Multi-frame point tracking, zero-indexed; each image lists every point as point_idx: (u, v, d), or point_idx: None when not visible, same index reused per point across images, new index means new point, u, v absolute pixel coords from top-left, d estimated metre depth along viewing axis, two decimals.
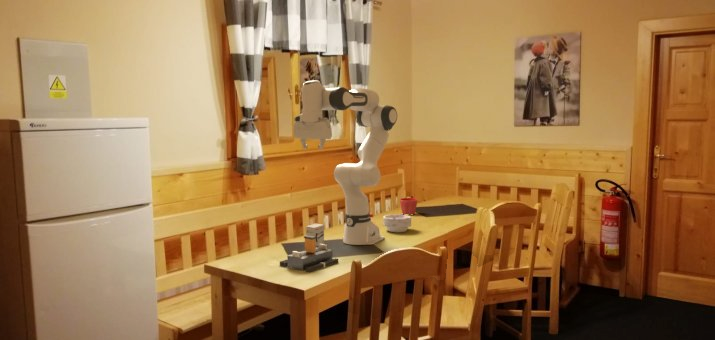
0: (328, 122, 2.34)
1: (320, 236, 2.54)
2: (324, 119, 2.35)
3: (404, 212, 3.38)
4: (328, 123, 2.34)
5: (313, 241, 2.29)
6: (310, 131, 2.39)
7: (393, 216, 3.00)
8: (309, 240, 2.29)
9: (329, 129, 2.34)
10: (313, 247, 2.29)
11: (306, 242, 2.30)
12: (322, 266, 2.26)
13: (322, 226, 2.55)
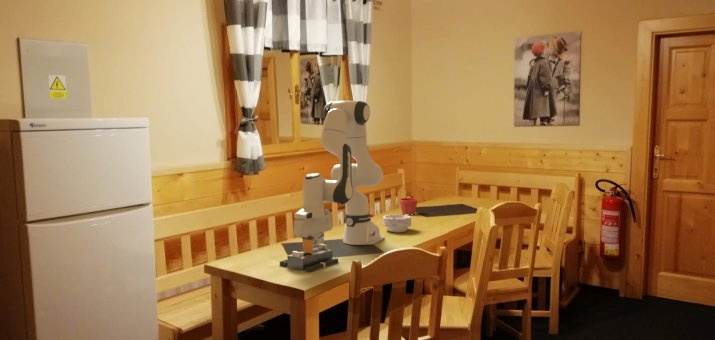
0: (329, 213, 2.38)
1: (320, 236, 2.54)
2: (326, 211, 2.36)
3: (404, 212, 3.38)
4: (329, 214, 2.38)
5: (311, 242, 2.28)
6: (317, 226, 2.30)
7: (393, 216, 3.00)
8: (307, 241, 2.28)
9: None
10: (311, 248, 2.28)
11: (304, 243, 2.29)
12: (322, 266, 2.26)
13: None
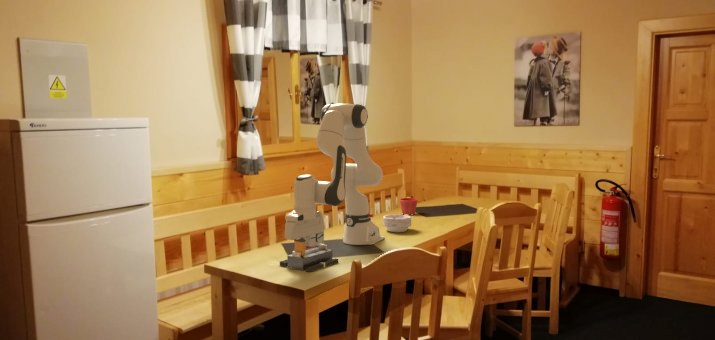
0: (321, 215, 2.34)
1: (320, 236, 2.54)
2: (318, 213, 2.32)
3: (404, 212, 3.38)
4: (321, 216, 2.34)
5: (303, 244, 2.24)
6: (309, 228, 2.27)
7: (393, 216, 3.00)
8: (299, 243, 2.24)
9: None
10: (303, 250, 2.24)
11: (296, 245, 2.26)
12: (322, 266, 2.26)
13: None
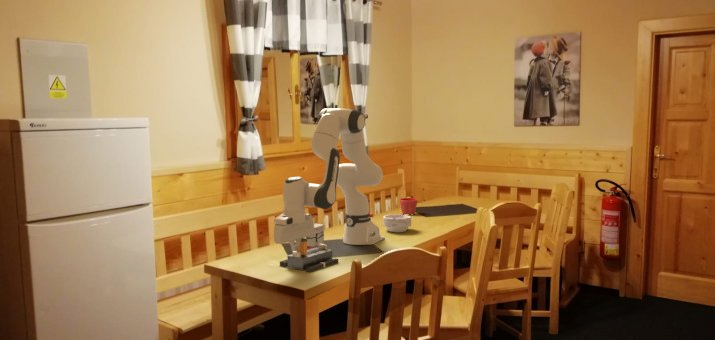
0: (311, 218, 2.30)
1: (320, 236, 2.54)
2: (308, 215, 2.28)
3: (404, 212, 3.38)
4: (311, 219, 2.30)
5: (305, 243, 2.25)
6: (298, 231, 2.22)
7: (393, 216, 3.00)
8: (301, 242, 2.25)
9: None
10: (305, 249, 2.25)
11: None
12: (322, 266, 2.26)
13: (322, 226, 2.55)
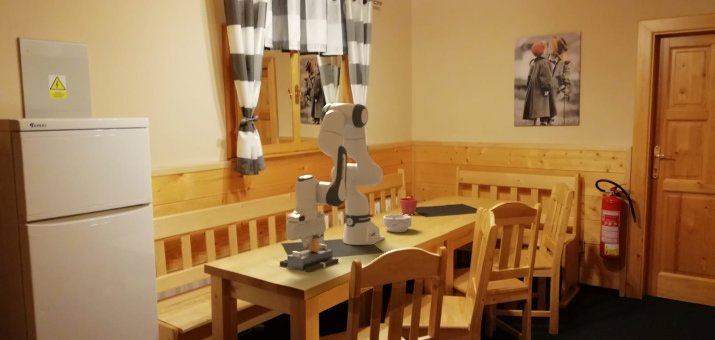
0: (322, 215, 2.35)
1: (320, 236, 2.54)
2: (319, 213, 2.33)
3: (404, 212, 3.38)
4: (322, 216, 2.35)
5: (316, 240, 2.30)
6: (310, 228, 2.27)
7: (393, 216, 3.00)
8: (312, 239, 2.31)
9: None
10: (316, 246, 2.30)
11: None
12: (322, 266, 2.26)
13: None
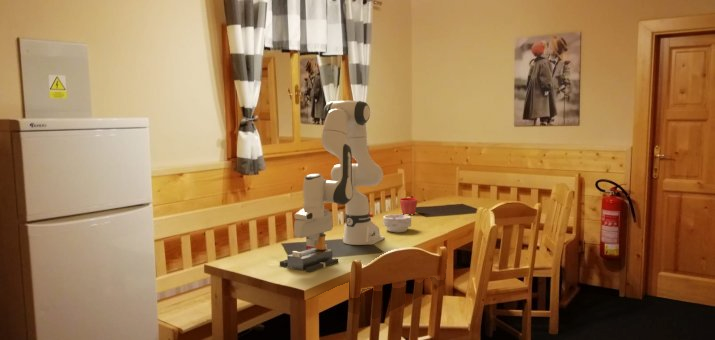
0: (329, 213, 2.39)
1: None
2: (326, 211, 2.37)
3: (404, 212, 3.38)
4: (329, 214, 2.39)
5: (323, 238, 2.33)
6: (317, 226, 2.31)
7: (393, 216, 3.00)
8: (319, 237, 2.34)
9: None
10: (323, 244, 2.34)
11: None
12: (322, 266, 2.26)
13: None
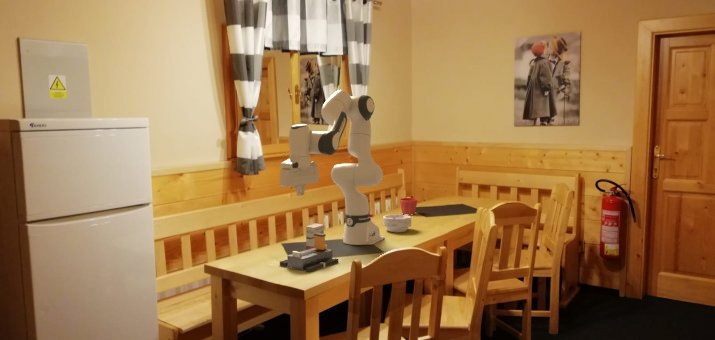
0: (316, 165, 2.37)
1: None
2: (313, 163, 2.35)
3: (404, 212, 3.38)
4: (316, 166, 2.37)
5: (323, 238, 2.33)
6: (303, 177, 2.30)
7: (393, 216, 3.00)
8: (319, 237, 2.34)
9: None
10: (323, 244, 2.33)
11: (316, 239, 2.35)
12: (322, 266, 2.26)
13: (322, 226, 2.55)
